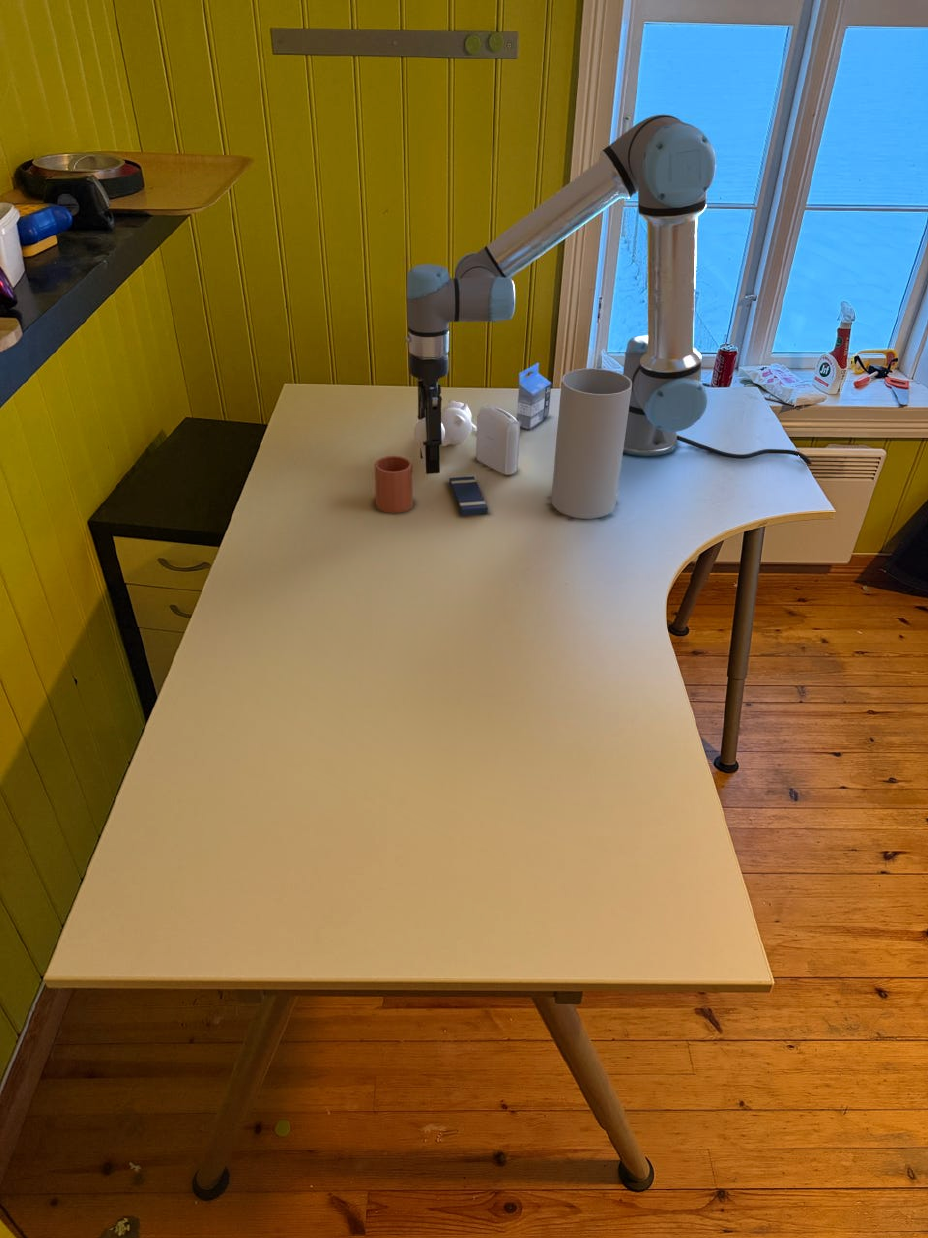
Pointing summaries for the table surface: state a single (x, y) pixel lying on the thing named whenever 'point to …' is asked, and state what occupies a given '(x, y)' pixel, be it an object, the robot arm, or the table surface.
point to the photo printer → (497, 439)
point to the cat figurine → (456, 423)
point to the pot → (394, 484)
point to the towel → (468, 496)
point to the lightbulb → (424, 436)
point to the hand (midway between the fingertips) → (429, 464)
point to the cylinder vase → (590, 442)
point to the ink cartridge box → (533, 398)
